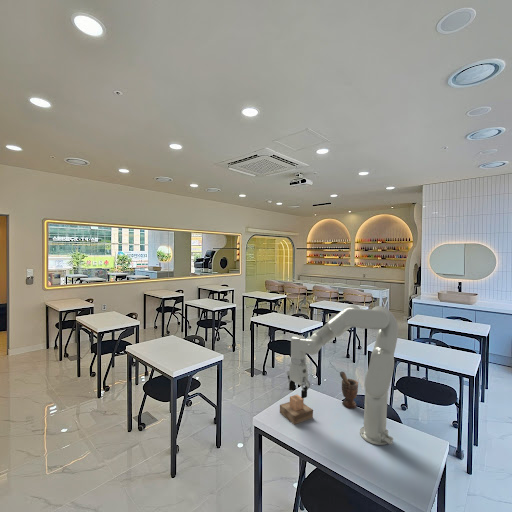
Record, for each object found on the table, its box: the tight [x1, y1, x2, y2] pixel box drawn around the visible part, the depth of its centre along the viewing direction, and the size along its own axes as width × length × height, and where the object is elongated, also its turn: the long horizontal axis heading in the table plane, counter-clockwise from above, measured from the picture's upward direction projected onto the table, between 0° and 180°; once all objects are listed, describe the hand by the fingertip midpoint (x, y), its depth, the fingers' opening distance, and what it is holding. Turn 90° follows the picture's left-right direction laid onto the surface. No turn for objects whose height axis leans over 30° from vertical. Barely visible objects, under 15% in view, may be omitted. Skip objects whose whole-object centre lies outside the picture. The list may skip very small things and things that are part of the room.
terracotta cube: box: [289, 394, 305, 411], centre depth 149 cm, size 5×5×5 cm
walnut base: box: [279, 401, 314, 425], centre depth 149 cm, size 12×12×4 cm
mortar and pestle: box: [339, 371, 359, 409], centre depth 159 cm, size 12×9×20 cm
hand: (297, 393), depth 148 cm, fingers open, 9 cm apart
